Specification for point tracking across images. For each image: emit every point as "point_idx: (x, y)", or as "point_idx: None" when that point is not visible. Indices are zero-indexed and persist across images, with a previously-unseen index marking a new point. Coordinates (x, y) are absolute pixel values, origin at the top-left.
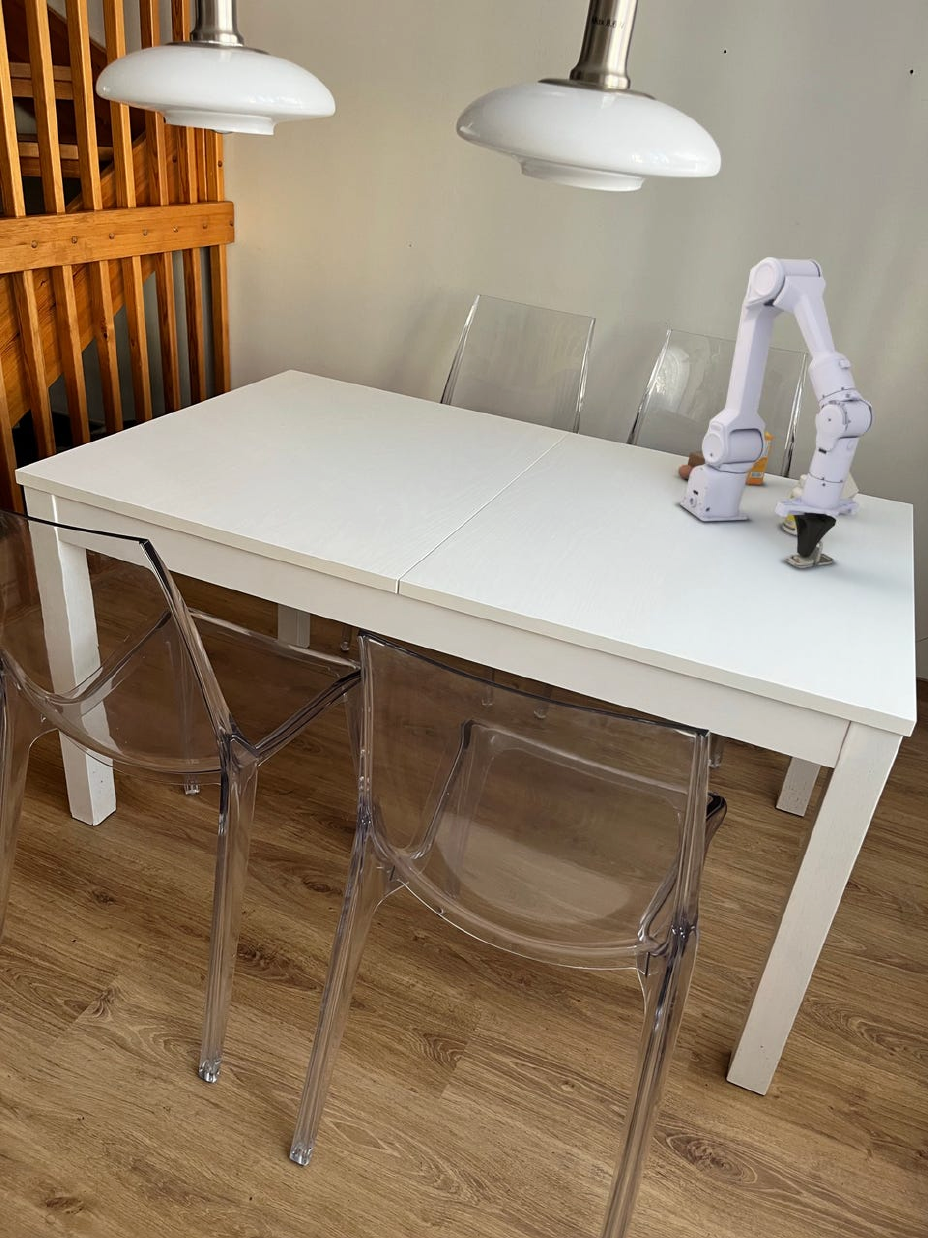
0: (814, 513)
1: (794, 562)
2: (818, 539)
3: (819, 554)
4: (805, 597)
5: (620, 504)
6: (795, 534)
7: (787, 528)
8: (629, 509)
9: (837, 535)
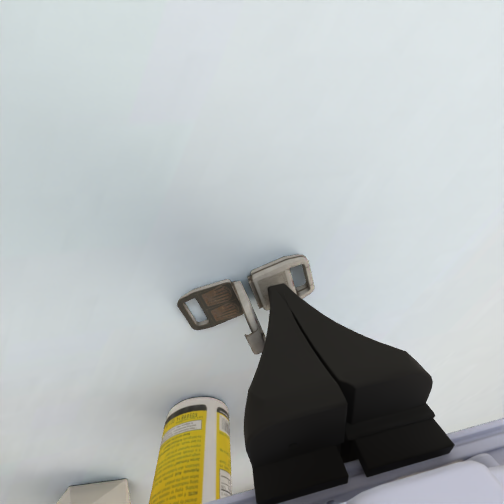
0: (399, 460)
1: (309, 267)
2: (281, 322)
3: (242, 292)
4: (406, 42)
5: (442, 414)
6: (213, 398)
7: (227, 411)
8: (443, 405)
9: (108, 416)
